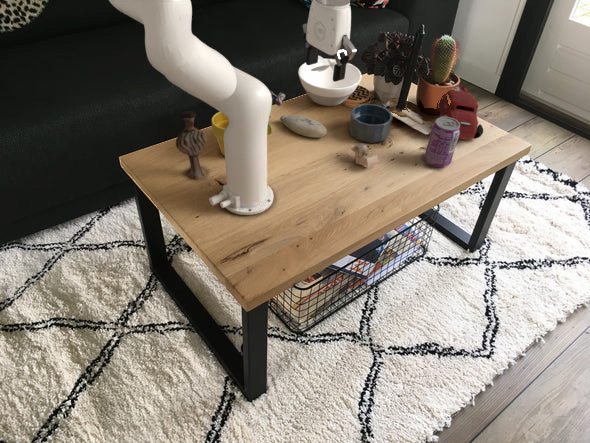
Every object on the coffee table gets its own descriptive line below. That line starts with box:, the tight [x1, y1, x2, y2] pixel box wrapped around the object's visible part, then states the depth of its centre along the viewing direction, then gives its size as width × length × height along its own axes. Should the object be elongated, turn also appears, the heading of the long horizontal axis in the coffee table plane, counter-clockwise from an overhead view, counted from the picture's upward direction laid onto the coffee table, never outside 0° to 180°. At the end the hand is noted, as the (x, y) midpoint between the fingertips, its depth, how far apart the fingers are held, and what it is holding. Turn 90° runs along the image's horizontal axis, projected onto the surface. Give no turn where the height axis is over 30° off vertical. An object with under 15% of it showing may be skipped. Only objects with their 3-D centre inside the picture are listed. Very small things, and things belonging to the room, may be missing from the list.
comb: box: [390, 107, 435, 136], centre depth 148 cm, size 15×2×10 cm
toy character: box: [350, 143, 379, 168], centre depth 133 cm, size 4×8×6 cm, turn 31°
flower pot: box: [211, 111, 229, 156], centre depth 132 cm, size 10×10×10 cm
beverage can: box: [423, 116, 460, 168], centre depth 132 cm, size 7×7×12 cm
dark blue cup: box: [348, 103, 393, 144], centre depth 143 cm, size 12×12×6 cm
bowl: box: [297, 58, 363, 107], centre depth 156 cm, size 19×20×8 cm
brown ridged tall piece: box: [175, 110, 207, 180], centre depth 122 cm, size 7×5×18 cm
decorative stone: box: [279, 115, 328, 138], centre depth 143 cm, size 6×16×3 cm, turn 60°
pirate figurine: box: [267, 89, 287, 137], centre depth 138 cm, size 14×13×15 cm
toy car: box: [435, 83, 484, 141], centre depth 148 cm, size 15×28×10 cm, turn 177°
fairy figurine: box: [311, 54, 336, 72], centre depth 151 cm, size 6×7×7 cm
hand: (324, 71), depth 118 cm, fingers open, 9 cm apart
